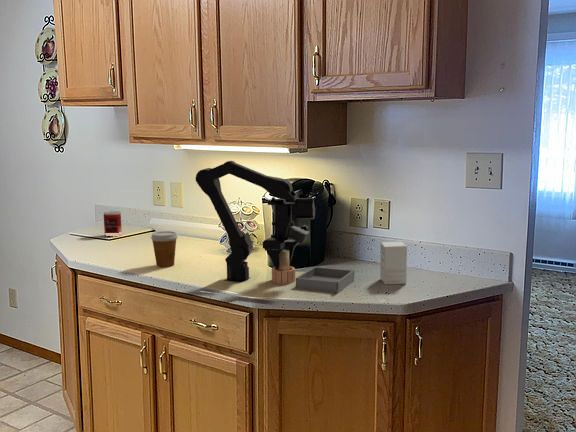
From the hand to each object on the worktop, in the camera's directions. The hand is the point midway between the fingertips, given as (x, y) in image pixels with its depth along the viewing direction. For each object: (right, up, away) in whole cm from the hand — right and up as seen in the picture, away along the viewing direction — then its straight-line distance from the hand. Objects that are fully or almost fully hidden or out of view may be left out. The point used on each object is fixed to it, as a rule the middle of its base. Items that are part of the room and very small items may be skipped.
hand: (283, 265), depth 202 cm
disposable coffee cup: (-44, -2, +25) cm, 51 cm away
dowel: (0, -5, +1) cm, 5 cm away
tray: (+14, -6, -3) cm, 15 cm away
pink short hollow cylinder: (0, -5, +1) cm, 6 cm away
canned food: (-80, +7, +84) cm, 116 cm away
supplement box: (+36, -5, 0) cm, 36 cm away
